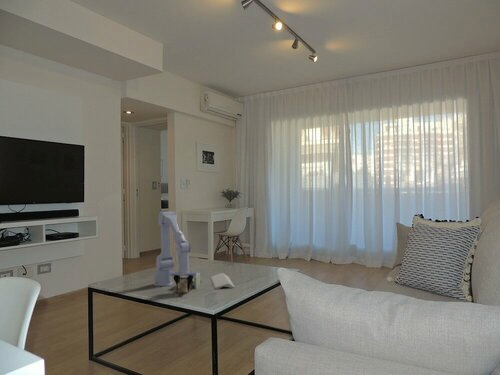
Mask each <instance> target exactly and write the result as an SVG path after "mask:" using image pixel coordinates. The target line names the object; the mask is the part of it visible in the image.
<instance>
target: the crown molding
mask: <svg viewBox="0 0 500 375" xmlns="http://www.w3.org/2000/svg"><path fill="white" fill-rule="evenodd" d="M209 279H210V282H211V284H212V287H213V289H214V290H220V289H222V288H223V287H224V288H225V287H226V288H230V289H231V288H232V289H235V288H236V287H235V285H234V284H233V281H232V280H231V278H230V277H229V276H228V275H227V274H225V273H224V272H221V273H218V274H215V275H213V276H210V278H209Z"/></svg>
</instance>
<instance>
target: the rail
mask: <svg viewBox="0 0 500 375" xmlns="http://www.w3.org/2000/svg"><path fill="white" fill-rule="evenodd" d="M193 286H194V283H193ZM185 294H186V293H177V295H176V296H175V298H182V297H183V296H185Z"/></svg>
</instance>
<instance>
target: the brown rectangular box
mask: <svg viewBox="0 0 500 375" xmlns="http://www.w3.org/2000/svg"><path fill="white" fill-rule="evenodd" d="M193 281H194V278H193V279H192V282H191V285H190V289H189V290H188V281H187V278H184V279H182V280H181V281H180V282H179V283H178V289H177V294H179V293H185V294H187V293H188V292H189V291H190V290H191V289H192V288H193V287H194V285H193Z"/></svg>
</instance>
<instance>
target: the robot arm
mask: <svg viewBox="0 0 500 375" xmlns="http://www.w3.org/2000/svg"><path fill="white" fill-rule="evenodd" d="M157 217H158V218H157V219H158V220H157V221H158V222H157V223H158V224H157V225H158V226H160V251H161V252H160V254H159V255H157V256H156V262H155V267H156V269H155V271H154V287H160V286H161V287H169V286H171V285H173V284H174V282H175V285H176V289H177V290H178V283H179V282H180V276H188V277H187V281H188V290H189V289H190V285H191V282H192V279H193V280H194V278H193V277H194V276H197V273H198V272H197V271H190V268H189V267H190V265H189V264H190V263H189V262H190V255H189V254H190V252H191V250H192V249H191V248H192V247H191V243H190V241H188V240H187V239H186V237H185V235H184V232H183V231H181V230H180V228H179V225H178V212H177V211H175V210H173V211H160V212H159V213H158V215H157ZM170 229H171V231H172V233H173V236H172V237H173V240H174V242H175V245H176V246H175V251H176V253H177V254H176V255H177V262H178V263H177V266H178V267H177V269H178V270H177V271H172V270H174V269H173V268H174V267H175V264H176V263H175V259H174V257H175V256H174V255H173V254H172V253H170V252H171V251H170V250H171V247H170ZM172 278H173V280H174V281H172ZM190 290H191V289H190ZM190 290H189V291H190Z"/></svg>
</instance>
